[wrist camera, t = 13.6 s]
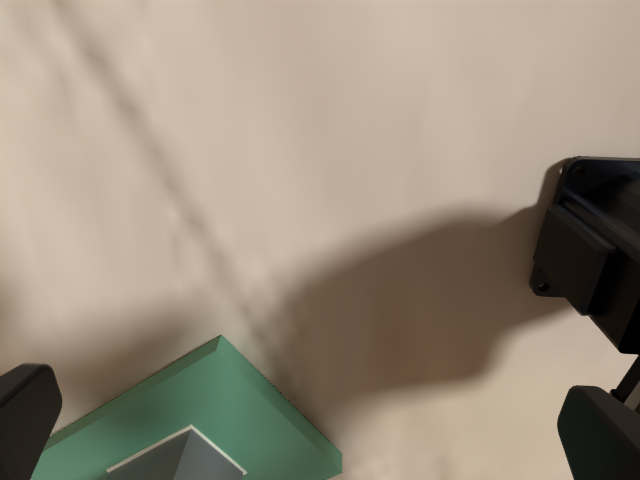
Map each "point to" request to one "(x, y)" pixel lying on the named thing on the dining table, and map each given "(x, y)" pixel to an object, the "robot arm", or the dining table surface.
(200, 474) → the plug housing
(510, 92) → the dining table surface
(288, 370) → the dining table surface
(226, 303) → the dining table surface
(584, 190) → the robot arm
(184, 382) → the board
